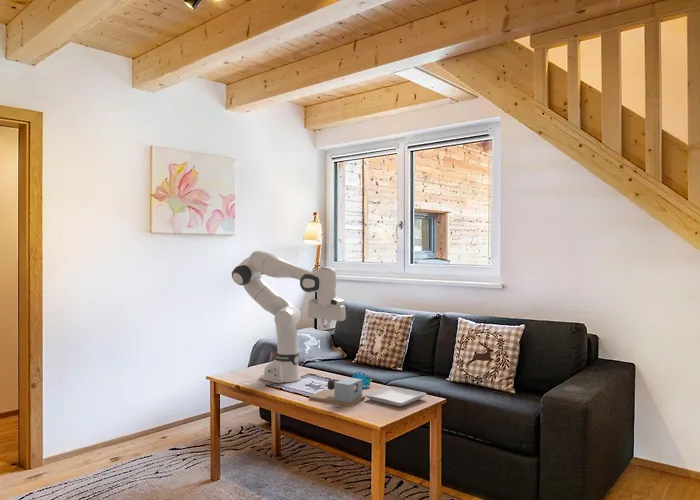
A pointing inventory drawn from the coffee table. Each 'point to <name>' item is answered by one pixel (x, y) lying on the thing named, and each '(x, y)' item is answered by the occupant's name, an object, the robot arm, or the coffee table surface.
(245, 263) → the robot arm
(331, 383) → the shaft
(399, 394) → the salad plate
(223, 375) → the coffee table surface
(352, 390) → the bearing block
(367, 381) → the gear
